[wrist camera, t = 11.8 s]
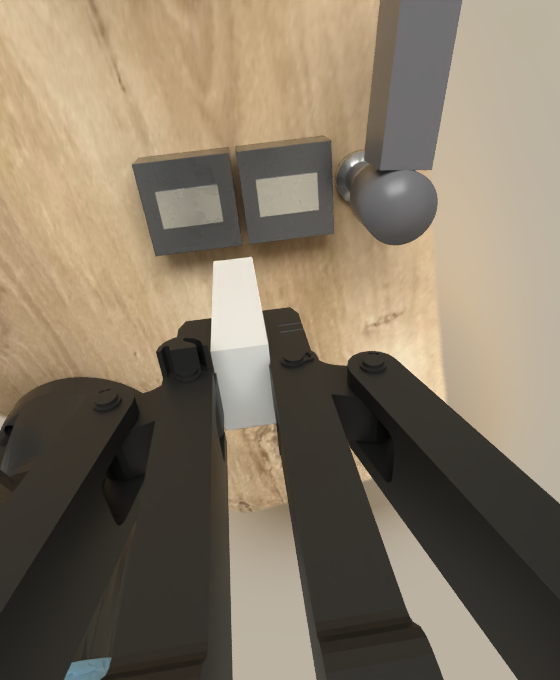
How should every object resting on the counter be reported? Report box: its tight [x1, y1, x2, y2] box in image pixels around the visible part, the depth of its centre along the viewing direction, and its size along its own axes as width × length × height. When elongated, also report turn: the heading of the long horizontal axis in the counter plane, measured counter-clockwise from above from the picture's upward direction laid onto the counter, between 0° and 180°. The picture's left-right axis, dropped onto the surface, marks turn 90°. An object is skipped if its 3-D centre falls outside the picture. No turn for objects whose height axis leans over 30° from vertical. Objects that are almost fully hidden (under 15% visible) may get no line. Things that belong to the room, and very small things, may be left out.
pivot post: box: [335, 150, 369, 203], centre depth 29 cm, size 4×4×5 cm
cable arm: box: [350, 0, 462, 245], centre depth 22 cm, size 17×4×4 cm, turn 179°
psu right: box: [236, 136, 334, 244], centre depth 30 cm, size 6×6×3 cm
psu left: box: [132, 147, 242, 256], centre depth 30 cm, size 6×6×3 cm
